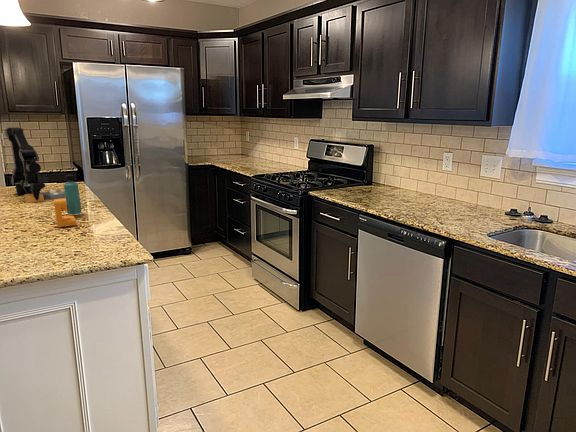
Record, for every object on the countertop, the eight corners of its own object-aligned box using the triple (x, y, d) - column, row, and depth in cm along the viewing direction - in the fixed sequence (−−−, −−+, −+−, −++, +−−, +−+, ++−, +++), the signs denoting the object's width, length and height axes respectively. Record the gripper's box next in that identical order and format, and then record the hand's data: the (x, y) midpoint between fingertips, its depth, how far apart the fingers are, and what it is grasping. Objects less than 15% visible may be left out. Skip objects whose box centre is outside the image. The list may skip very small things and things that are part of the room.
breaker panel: (40, 196, 249) (39, 191, 249) (61, 193, 259) (60, 188, 258) (50, 199, 241) (50, 194, 240) (72, 196, 250) (71, 191, 249)
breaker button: (48, 196, 248) (47, 190, 247) (54, 195, 251) (53, 189, 250) (50, 197, 246) (50, 191, 245) (56, 196, 248) (56, 190, 248)
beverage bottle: (85, 215, 208) (80, 174, 203) (73, 218, 202) (68, 176, 197) (75, 213, 210) (70, 173, 205) (64, 216, 204) (58, 175, 199)
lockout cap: (25, 201, 238) (24, 194, 237) (38, 199, 243) (37, 192, 242) (30, 202, 233) (29, 196, 232) (44, 200, 239) (43, 194, 238)
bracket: (76, 226, 188) (73, 200, 185) (58, 228, 184) (54, 201, 181) (74, 221, 197) (70, 195, 194) (56, 223, 193) (53, 197, 190)
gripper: (53, 171, 235) (56, 198, 238) (38, 168, 246) (42, 194, 250) (31, 173, 226) (35, 202, 230) (17, 170, 237) (21, 197, 241)
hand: (34, 199), depth 238 cm, fingers closed on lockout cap, 7 cm apart
